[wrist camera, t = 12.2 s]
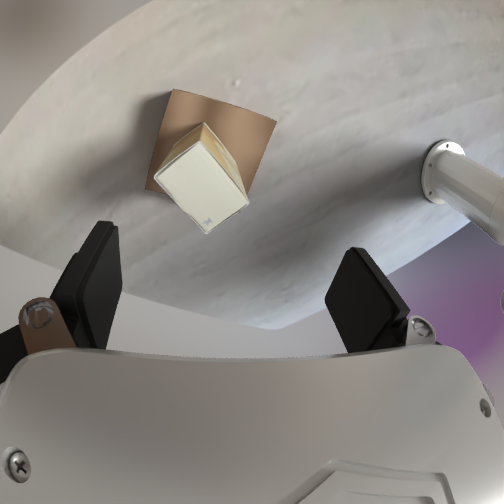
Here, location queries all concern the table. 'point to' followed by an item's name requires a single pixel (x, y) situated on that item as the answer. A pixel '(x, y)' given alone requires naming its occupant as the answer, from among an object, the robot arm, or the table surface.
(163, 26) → the table surface
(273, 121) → the walnut block
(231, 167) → the skincare box
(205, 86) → the table surface
